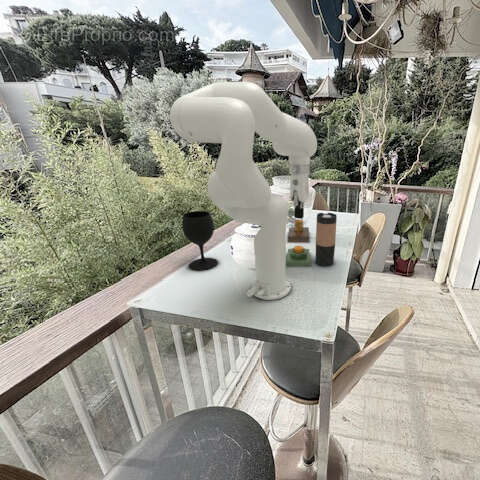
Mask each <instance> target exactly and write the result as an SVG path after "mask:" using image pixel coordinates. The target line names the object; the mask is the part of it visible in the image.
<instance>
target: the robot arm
mask: <svg viewBox="0 0 480 480" xmlns="http://www.w3.org/2000/svg"><path fill="white" fill-rule="evenodd" d="M169 120H170V124H171V127H172V129H173V130H174V131H175V133H176V134H177V135H178V136H179V137H180V138H182V139H183V140H185V141H188V142H193V143H208V144H221V146H220V147H221V148H220V152H219V155H218V158H217V160H216V163H215V170H214V171H213V172H212V173H211V174H210V176H209V177H208V179H207V185H206V186H207V187H206V189H207V193H208V196H209V198H210V200H211V201H212V203H213V204H214V205H215V206H216V207H217V208H218V209H220V210H221V212H223V213H224V214H226V215H227V216H228V217H229V218H230V219H231V220H233V221H235V222H237V223H242V224H247V225H255V226H259V227H260V229H259V230H258V231H257V233H256V234H255V236H254V238H253V249H254V252H253V253H254V267H255V268H254V269H255V280H254V281H253V284H252V286H251V288H250V289H249V290H247V291H246V292H245V294H246V297H248V298H251V297H252V296H254V297H256V298H257V299H260V300H264V301H265V300H266V301H267V300H268V301H274V300H278V299H281V298H284V297H285V296H287V295H288V294H289V293H290V292H291V289H292V285H291V283H290V282H289V281H288V280H287V253H286V252H287V250H286V249H287V248H286V238H287V237H286V234H287V233H286V231H287V222H288V216H289V210H290V209H289V207H290V206H289V203H288V201H287V199H286V198H285V197H283V196H281V195H279V194H277V193H272V189H271V187H270V184H269V182H268V181H267V179H266V177H265V176H264V175H263V174H262V172H261V171H260V169H259V168H258V166H257V165H256V163H255V160H254V158H253V157H254V156H253V151H254V144H255V143H254V142H255V133H256V134H257V135H259V136H260V137H261V138H262V139H264V140H266V141H268V142H271V145H272V148H273V151H274V152H275V153H276V154H277V155H278V156H279V155H280V156H282V157H283V156H284V157H288V174H289V175H290V188H289V197H290V201H291V202H293V207H294V219H299V220H303V218H304V216H305V212H304V211H305V201H306V200H308V199H309V197H310V181H309V179H310V177H309V175H310V174H311V157H313V156H314V155H315V154H316V152H317V150H318V140H317V139H318V138H317V136H316V134H315V132H314V131H313V129H312V128H311V126H310V125H309V124H308V123H306V122H304V121H303V120H301V119H298V118H296V117H294V116H292V115H290V114H288V113H285V112H283V111H281V110H280V108H279V107H278V106H277V105H276V104H275V102H274V101H273V100H272V98H270V96H269V95H268V94H267V93H266V92H265V90H264V89H263V88H262V87H261V86H260V85H258V84H256V83H254V82H251V81H219V82H213V83H210V84H208V85H205V86H203V87H201V88H198V89H196V90H194V91H191V92H189V93H185V94H184V95H181V96H180V97H178V98H177V99H176V100H175V101H174V102H173V103H172V105H171V107H170V111H169Z"/></svg>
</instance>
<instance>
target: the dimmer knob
mask: <svg viewBox="0 0 480 480" xmlns="http://www.w3.org/2000/svg"><path fill="white" fill-rule="evenodd" d="M294 227H295V231H297V232H301V231H303V227H304V220H303V219H294Z"/></svg>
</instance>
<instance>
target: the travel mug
mask: <svg viewBox="0 0 480 480" xmlns="http://www.w3.org/2000/svg"><path fill="white" fill-rule="evenodd" d="M337 220H338V219H337V214H336V213H333V212H327V213H323V212H318V213H317V214H316V226H315V228H316V230H315V264H316V266H319V267H325V268H327V267H331V266H333V265H334V261H335V251H336V237H337V236H336V234H337Z"/></svg>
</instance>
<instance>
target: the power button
mask: <svg viewBox="0 0 480 480" xmlns="http://www.w3.org/2000/svg"><path fill="white" fill-rule="evenodd" d="M293 248H294V252H295V253H302V252H303V251H304V248H305V247H304V246H302V245H295V246H293Z"/></svg>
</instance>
